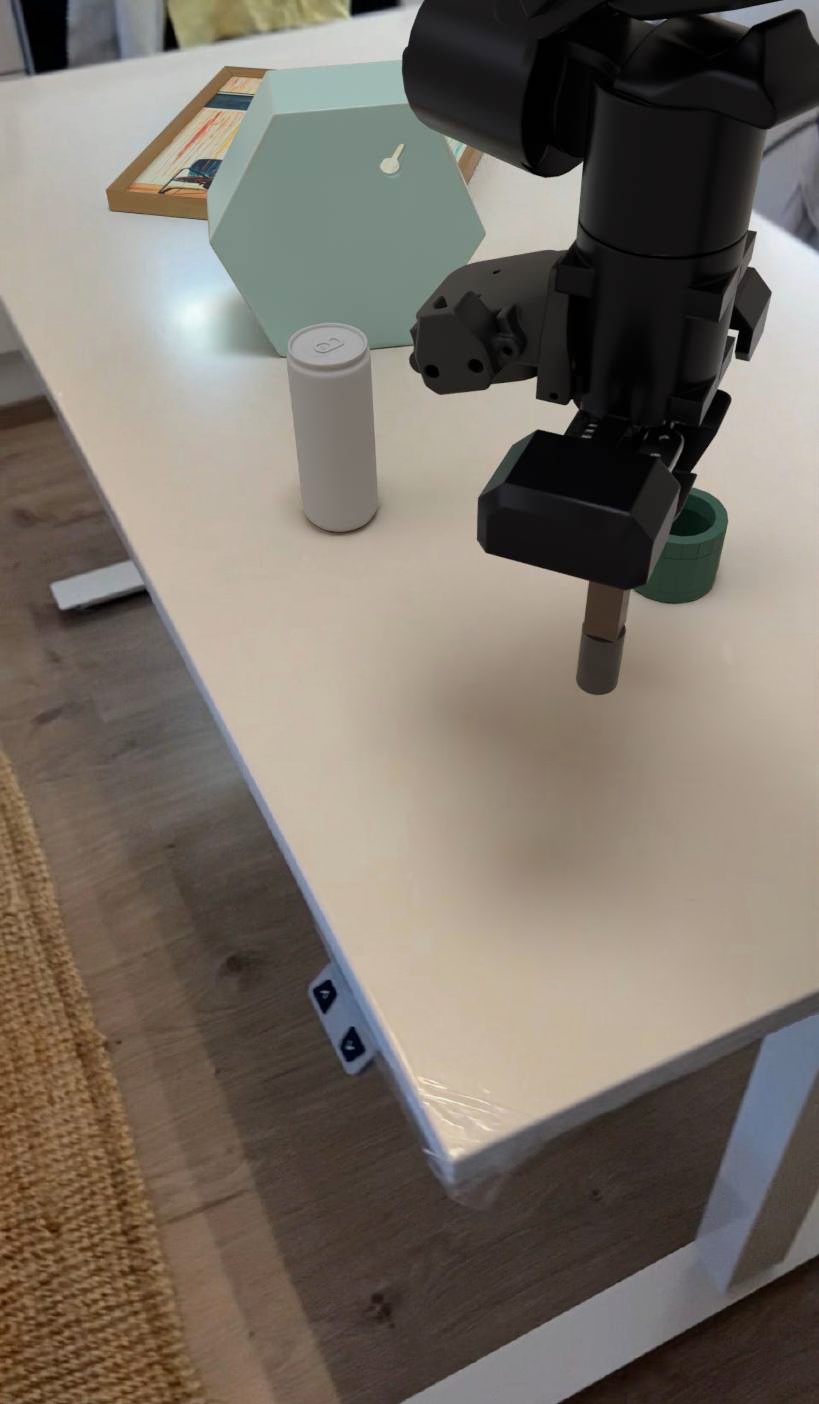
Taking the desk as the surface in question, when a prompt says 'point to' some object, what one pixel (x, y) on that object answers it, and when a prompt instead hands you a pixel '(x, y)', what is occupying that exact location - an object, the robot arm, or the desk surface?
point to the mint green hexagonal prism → (339, 205)
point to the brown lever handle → (602, 639)
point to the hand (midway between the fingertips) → (613, 568)
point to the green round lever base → (690, 551)
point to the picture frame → (209, 151)
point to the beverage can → (334, 424)
